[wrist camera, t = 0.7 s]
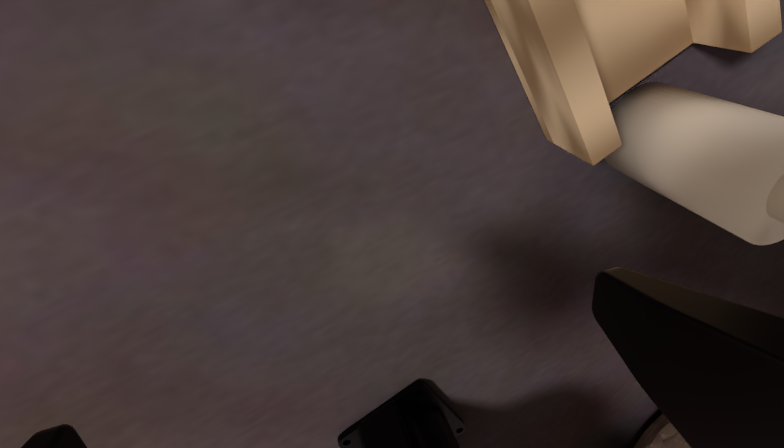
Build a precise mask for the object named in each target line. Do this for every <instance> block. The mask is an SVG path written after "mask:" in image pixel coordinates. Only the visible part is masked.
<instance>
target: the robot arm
mask: <svg viewBox="0 0 784 448" xmlns="http://www.w3.org/2000/svg"><path fill="white" fill-rule="evenodd" d="M592 311H593V315H594V317H595V319H596V321H597V322H598V324H599V325H600V327H601V328H602V330H603V331H604V333H605V334H606V336H607V337H608V339H609V340H610V341H611V343H612V344H613V346H614V347H615V349H616V350H617V352H618V353H619V355H620V356H621V358H622V359H623V361H624V362H625V364H626V365H627V367H628V368H629V370H630V371H631V373H632V374H633V376H634V377H635V378H636V380H637V381H638V383H639V384H640V385H641V387H642V388H643V389H644V391H645V392H646V393H647V394H648V396H649V397H650V398H651V400H652V401H653V402H654V403H655V404H656V406H657V407H658V408H659V409H660V410H661V412H662V413H663V414H664V415H665V417H666V418H667V419H668V420H669V421H670V423H671V424H672V425H673V426H674V427H675V429H676V430H677V431H678V432H679V434H680V435H681V436H682V437H683V438H684V440H685V441H686V442H687V443H688V444H689V446H690V447H691V448H784V318H782V317H779V316H776V315H772V314H769V313H766V312H763V311H760V310H756V309H753V308H750V307H747V306H744V305H740V304H737V303H734V302H731V301H728V300H725V299H721V298H718V297H715V296H712V295H709V294H705V293H702V292H699V291H696V290H693V289H689V288H686V287H683V286H680V285H677V284H673V283H670V282H667V281H664V280H661V279H658V278H654V277H651V276H648V275H645V274H642V273H638V272H635V271H632V270H629V269H626V268H622V267H614V268H611V269H607V270H604V271H601V272H599V273H598V274H597V276H596V278H595V284H594V292H593V300H592ZM465 431H466V426H465V424H464V422H463V420H462V419H461V418H460V417H459V416H458V415H457V414H456V413H455V412H454V411H453V410H452V409H451V408H450V407H449V406H448V405H447V404H446V403H445V402H444V401H443V400H442V399H441V398H440V397H439V396H438V395H437V394H436V393H435V392H434V391H433V390H432V389H431V388H430V387H429V386H428V385H427V384H426V383H425V382H423V381H416V382H414V383H413V384H411V385H410V386H408V387H407V388H405V389H404V390H403V391H401V392H400V393H398V394H397V395H395V396H394V397H393V398H391V399H390V400H388V401H387V402H385V403H384V404H383V405H381V406H380V407H378V408H377V409H375V410H374V411H373V412H371V413H370V414H368V415H367V416H365V417H364V418H363V419H361V420H360V421H358V422H357V423H355V424H354V425H353V426H351V427H350V428H348V429H347V430H345V431H344V432H343V433H341V434H340V435H339V436H338V444H339V447H340V448H460V446H459V444H458V442H457V440H456V438H457V437H459V436H460V435H462V434H463V433H464V432H465ZM21 448H87V447H86V445H85V444H84V442H83V441H82V439H81V438H80V436H79V435H78V433H77V432H76V430H75V429H74V428H73V427H72V426H70V425H68V424H63V425H59V426H56V427H52V428H49V429H45V430H42V431H39V432H37V433H36V434H34V435H33V436H32V437H31V438H30V439H29V440H28V441H27V442H26V443H25V444H24V445H23V446H22V447H21Z"/></svg>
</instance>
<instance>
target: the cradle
mask: <svg viewBox="0 0 784 448" xmlns="http://www.w3.org/2000/svg"><path fill="white" fill-rule="evenodd" d="M485 2H486V5H487V7H488V9H489V11H490V14H491V16H492V18H493V20H494V22H495V25H496V27H497V29H498V31H499V34H500V36H501V38H502V40H503V43H504V45H505V47H506V49H507V52H508V54H509V56H510V58H511V61H512V63H513V65H514V67H515V69H516V72H517V74H518V76H519V78H520V81H521V83H522V85H523V87H524V90H525V92H526V94H527V96H528V99H529V101H530V103H531V105H532V108H533V110H534V112H535V114H536V117H537V119H538V121H539V123H540V125H541V128H542V130H543V132H544V134H545V137H546V139H547V140H549V141H550V142H552V143H554V144H556V145H558V146H559V147H561V148H563V149H565V150H566V151H568V152H570V153H572V154H573V155H575V156H577V157H579V158H580V159H582V160H584V161H586V162H588V163H589V164H591V165H593V166H594V165H595V164H597V163H598V162H599V161H601V160H602V159H604V158H605V157H606V156H608V155H609V154H611V153H612V152H613V151H615V150H616V149H618V148H619V147H620V146H622V142H621V139H620V136H619V133H618V130H617V127H616V124H615V121H614V118H613V115H612V112H611V109H610V106H609V103H610V102H612V101H613V100H614V99H616V98H617V97H619V96H620V95H621V94H623V93H624V92H626V91H627V90H628V89H630V88H631V87H632V86H634V85H635V84H637V83H638V82H639V81H641V80H642V79H644V78H645V77H646V76H648V75H649V74H651V73H652V72H653V71H655V70H656V69H657V68H659V67H660V66H662V65H663V64H664V63H666V62H667V61H669V60H670V59H671V58H673V57H674V56H676V55H677V54H678V53H680V52H681V51H682V50H684V49H685V48H687V47H688V46H689V45H691V44H692V43H697V44H703V45H709V46H715V47H720V48H726V49H732V50H737V51H743V52H749V53H752V52H754V51H755V50H756V49H758V48H759V47H761V46H762V45H763V44H765V43H766V42H768V41H769V40H770V39H772V38H773V37H775V36H776V35H777V34H779V33H780V32H782V26H781V13H780V0H485Z"/></svg>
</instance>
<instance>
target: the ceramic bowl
mask: <svg viewBox="0 0 784 448" xmlns="http://www.w3.org/2000/svg"><path fill="white" fill-rule="evenodd" d="M634 448H691V447H690V446H689V444H688V443H687V442H686V441H685V440H684V438H683V437H682V436H681V435H680V434H679V432H678V431H677V430H676V429H675V427H674V426H673V425H672V424H671V423H670V421H669V420H668V419H667V418H666V417H665V415H664V414H662V415H661V416H659V417H658V418H657V419H656V420H655V421H654V422H653V423H652V424H651V425H650V426H649V427H648V428H647V429H646V430H645V432H644V433H643V434H642V435H641V437H640V438H639V440H638V441H637V443H636V445H635V446H634Z"/></svg>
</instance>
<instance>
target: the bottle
mask: <svg viewBox="0 0 784 448" xmlns="http://www.w3.org/2000/svg"><path fill="white" fill-rule="evenodd" d="M611 112H612V115H613V118H614V121H615V124H616V127H617V130H618V133H619V136H620V139H621V142H622V146H620V147H619V148H618V149H616V150H615V151H613V152H612V153H611V154H609V155H608V156H606V157H605V158H604V160H605V161H606V163H607V164H608V165H609V166H610V167H612V168H613V169H615V170H617V171H619V172H620V173H622V174H624V175H626V176H628V177H630V178H631V179H633V180H635V181H637V182H639V183H641V184H642V185H644V186H646V187H648V188H650V189H652V190H654V191H655V192H657V193H659V194H661V195H663V196H665V197H666V198H668V199H670V200H672V201H674V202H676V203H677V204H679V205H681V206H683V207H685V208H687V209H688V210H690V211H692V212H694V213H696V214H698V215H699V216H701V217H703V218H705V219H707V220H709V221H710V222H712V223H714V224H716V225H718V226H720V227H722V228H723V229H725V230H727V231H729V232H731V233H733V234H734V235H736V236H738V237H740V238H742V239H744V240H745V241H747V242H749V243H751V244H754V245H769V244H773V243H776V242H779V241H781V240H783V239H784V117H783V116H779V115H776V114H772V113H768V112H765V111H761V110H758V109H754V108H751V107H747V106H744V105H740V104H736V103H733V102H729V101H726V100H722V99H719V98H715V97H712V96H708V95H704V94H701V93H697V92H694V91H690V90H687V89H683V88H680V87H676V86H672V85H669V84H665V83H662V82H649V83H645V84H642V85H640V86H638V87H636V88H634V89H632V90H631V91H629V92H628V93H627V94H626V95H624V96H623V97H622V98H621V99H620V100H619V101H618V103H617V104H616V105H615V106H614V108H613V109H612V111H611Z"/></svg>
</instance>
